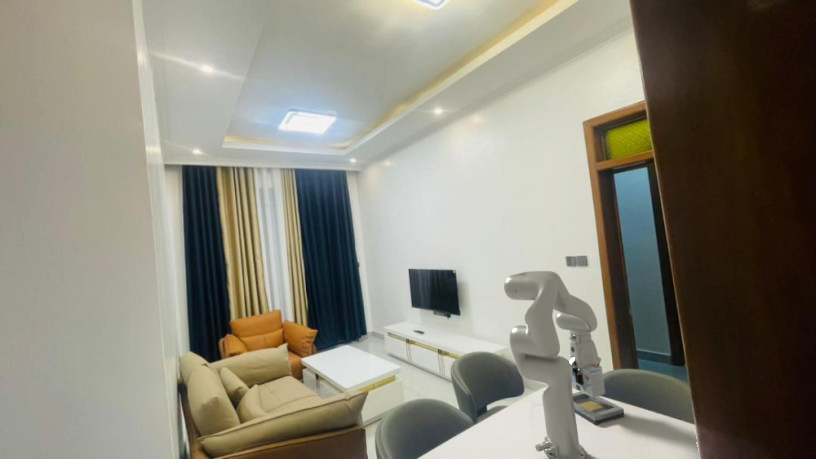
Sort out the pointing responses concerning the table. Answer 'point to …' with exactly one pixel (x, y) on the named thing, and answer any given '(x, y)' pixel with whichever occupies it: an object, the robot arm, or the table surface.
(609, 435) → the table surface
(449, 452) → the table surface
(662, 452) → the table surface
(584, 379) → the light bulb box
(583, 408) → the gray rectangular frame
